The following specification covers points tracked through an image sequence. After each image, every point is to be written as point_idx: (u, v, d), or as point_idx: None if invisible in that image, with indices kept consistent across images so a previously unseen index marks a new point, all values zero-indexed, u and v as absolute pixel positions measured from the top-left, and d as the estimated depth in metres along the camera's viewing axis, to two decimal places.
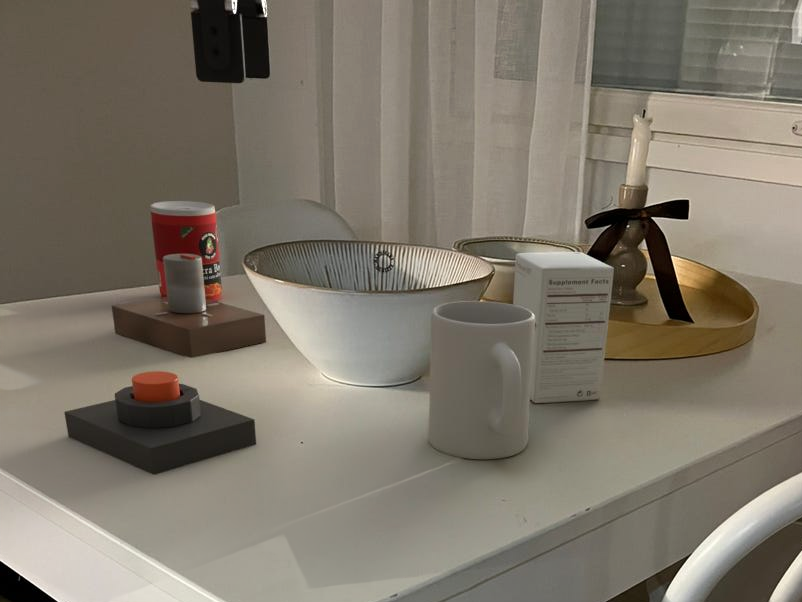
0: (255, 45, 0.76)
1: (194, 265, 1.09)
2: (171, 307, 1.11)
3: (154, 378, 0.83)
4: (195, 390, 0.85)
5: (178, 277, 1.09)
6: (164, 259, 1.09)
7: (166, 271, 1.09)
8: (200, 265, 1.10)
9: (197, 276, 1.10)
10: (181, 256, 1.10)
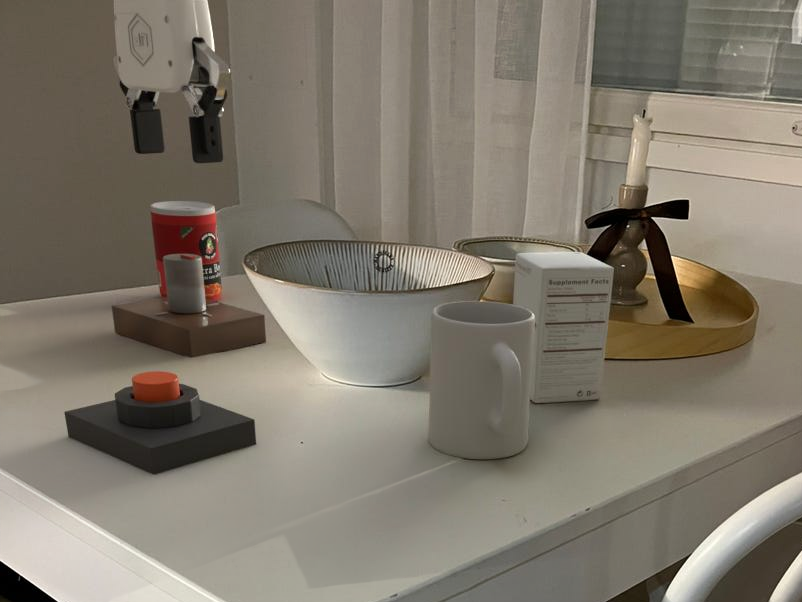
0: (155, 129, 1.04)
1: (194, 265, 1.09)
2: (171, 307, 1.11)
3: (154, 378, 0.83)
4: (195, 390, 0.85)
5: (178, 277, 1.09)
6: (164, 259, 1.09)
7: (166, 271, 1.09)
8: (200, 265, 1.10)
9: (197, 276, 1.10)
10: (181, 256, 1.10)
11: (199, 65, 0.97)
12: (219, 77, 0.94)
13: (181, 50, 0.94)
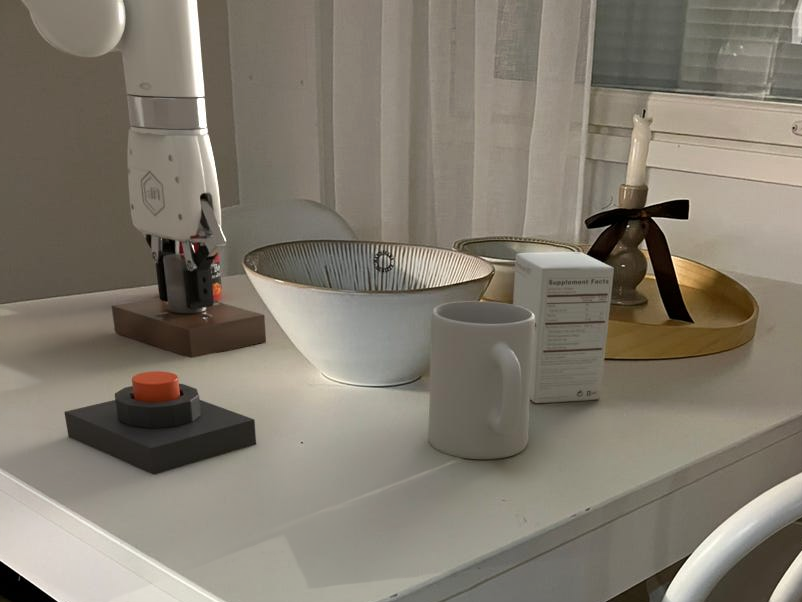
0: None
1: None
2: (171, 307, 1.11)
3: (154, 378, 0.83)
4: (195, 390, 0.85)
5: (178, 277, 1.09)
6: (164, 259, 1.09)
7: (166, 271, 1.09)
8: None
9: None
10: (181, 256, 1.10)
11: None
12: (214, 248, 1.05)
13: (190, 206, 1.03)
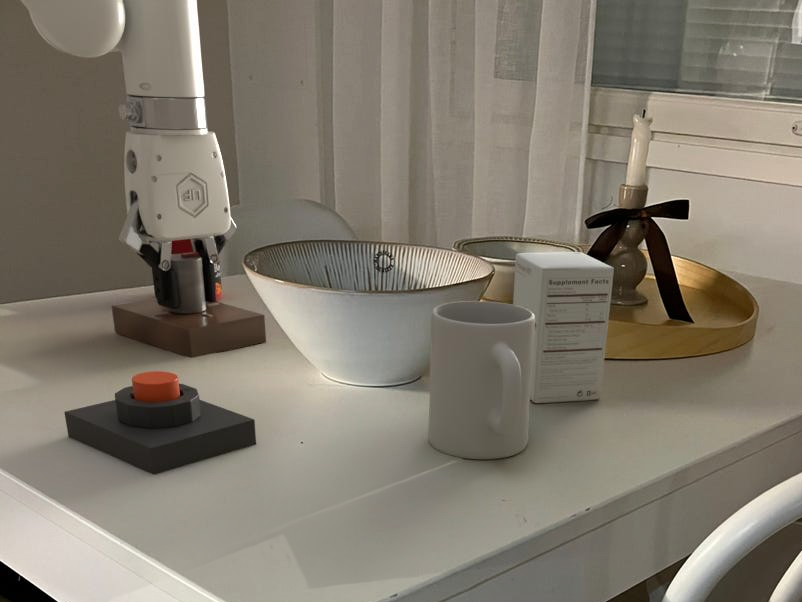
0: None
1: None
2: (198, 307, 1.11)
3: (154, 378, 0.83)
4: (195, 390, 0.85)
5: (202, 275, 1.11)
6: (189, 261, 1.09)
7: (192, 272, 1.09)
8: None
9: None
10: (185, 255, 1.10)
11: None
12: (232, 234, 1.13)
13: None
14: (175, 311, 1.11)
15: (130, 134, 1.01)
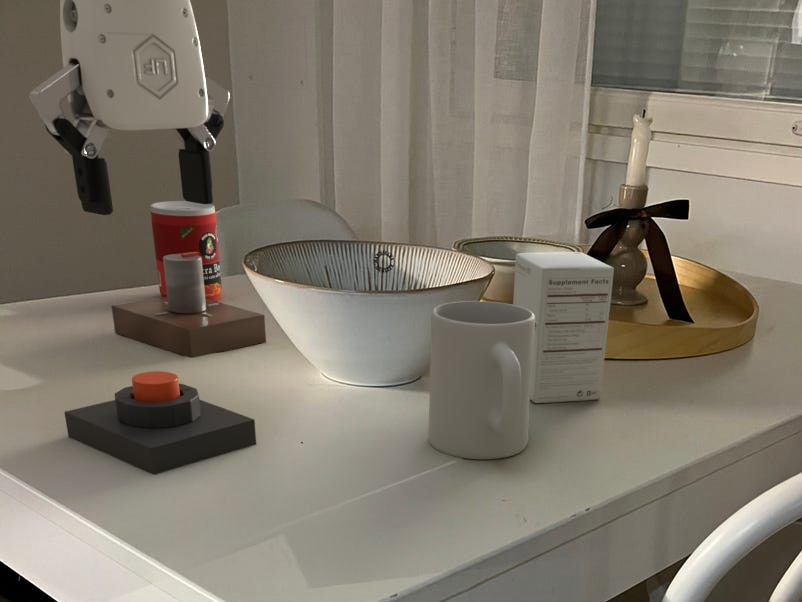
0: None
1: None
2: (198, 307, 1.11)
3: (154, 378, 0.83)
4: (195, 390, 0.85)
5: (202, 275, 1.11)
6: (189, 261, 1.09)
7: (192, 272, 1.09)
8: None
9: None
10: (185, 255, 1.10)
11: None
12: (227, 103, 0.85)
13: None
14: (175, 311, 1.11)
15: None
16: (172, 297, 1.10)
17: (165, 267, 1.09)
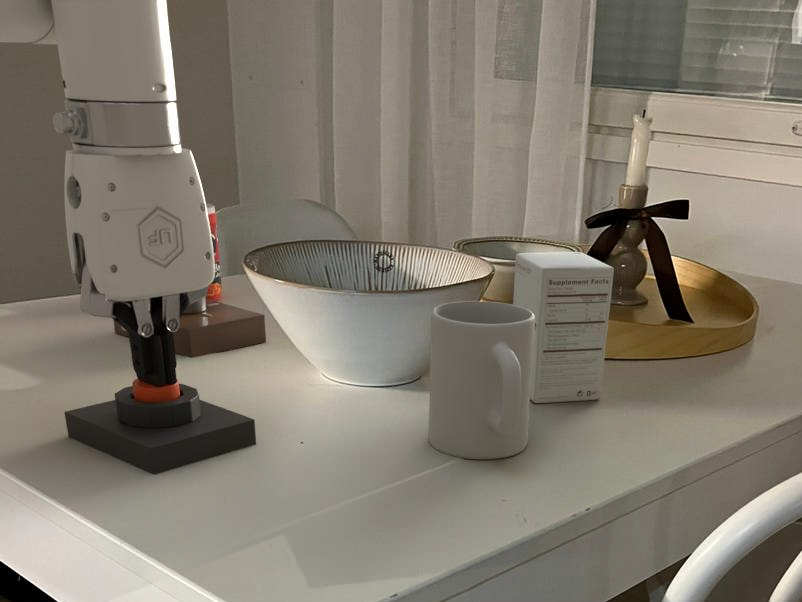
0: None
1: None
2: (198, 307, 1.11)
3: None
4: (195, 390, 0.85)
5: None
6: None
7: None
8: None
9: None
10: None
11: None
12: (199, 298, 0.83)
13: None
14: None
15: (71, 154, 0.72)
16: None
17: None
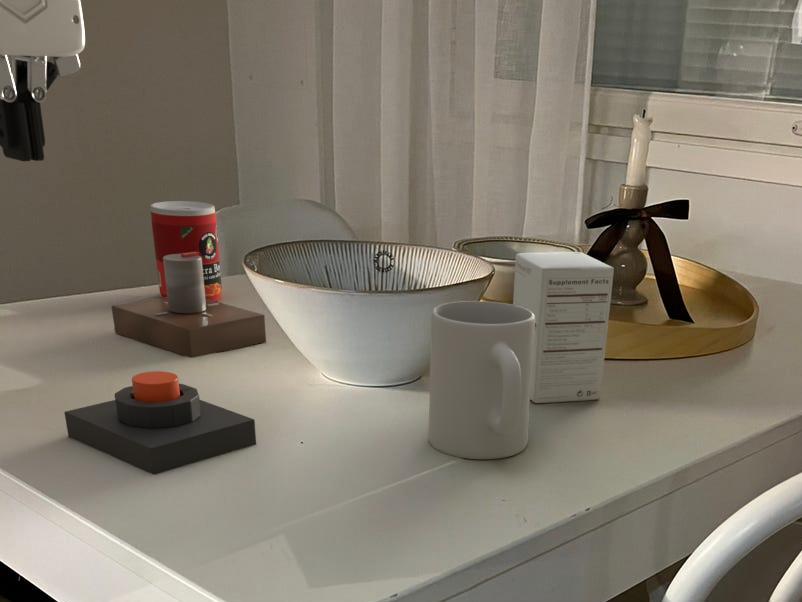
0: None
1: None
2: (198, 307, 1.11)
3: (154, 378, 0.83)
4: (195, 390, 0.85)
5: (202, 275, 1.11)
6: (189, 261, 1.09)
7: (192, 272, 1.09)
8: None
9: None
10: (185, 255, 1.10)
11: None
12: None
13: None
14: (175, 311, 1.11)
15: None
16: (172, 297, 1.10)
17: (165, 267, 1.09)
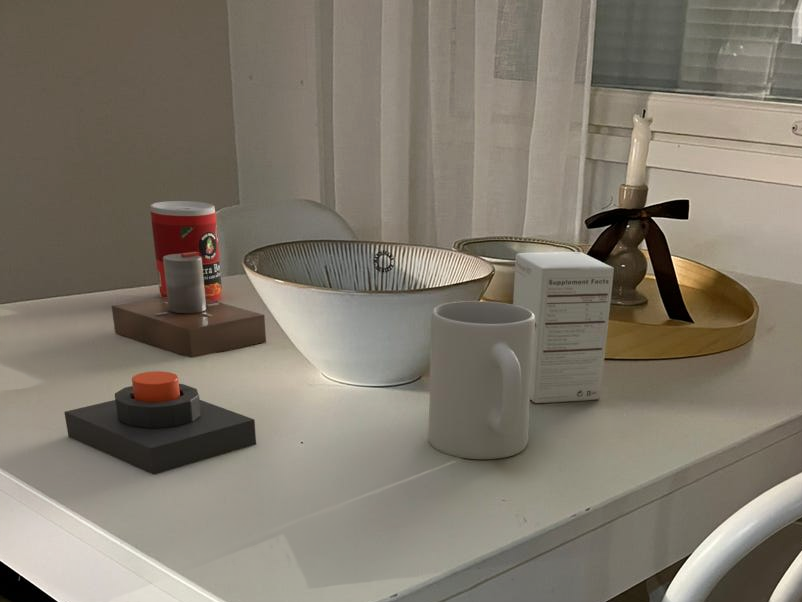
0: None
1: None
2: (198, 307, 1.11)
3: (154, 378, 0.83)
4: (195, 390, 0.85)
5: (202, 275, 1.11)
6: (189, 261, 1.09)
7: (192, 272, 1.09)
8: None
9: None
10: (185, 255, 1.10)
11: None
12: None
13: None
14: (175, 311, 1.11)
15: None
16: (172, 297, 1.10)
17: (165, 267, 1.09)
